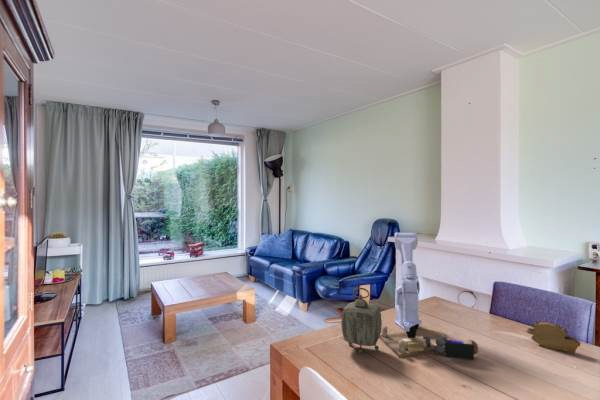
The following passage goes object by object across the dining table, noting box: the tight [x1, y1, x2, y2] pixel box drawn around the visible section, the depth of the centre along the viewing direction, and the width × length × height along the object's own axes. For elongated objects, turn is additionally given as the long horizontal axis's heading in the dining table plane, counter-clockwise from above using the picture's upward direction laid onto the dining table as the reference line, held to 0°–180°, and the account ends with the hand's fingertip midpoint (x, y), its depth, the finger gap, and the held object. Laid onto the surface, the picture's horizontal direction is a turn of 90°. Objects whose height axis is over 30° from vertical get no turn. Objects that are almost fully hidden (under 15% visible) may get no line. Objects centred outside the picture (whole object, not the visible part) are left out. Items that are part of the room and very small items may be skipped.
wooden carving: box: [525, 321, 581, 354], centre depth 123 cm, size 16×5×10 cm, turn 47°
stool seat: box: [379, 325, 437, 358], centre depth 129 cm, size 17×17×5 cm
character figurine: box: [435, 334, 479, 361], centre depth 119 cm, size 8×7×15 cm
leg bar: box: [402, 335, 432, 349], centre depth 125 cm, size 11×3×3 cm, turn 99°
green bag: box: [340, 287, 383, 354], centre depth 125 cm, size 14×9×25 cm, turn 65°
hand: (411, 342), depth 127 cm, fingers closed, pressing on leg bar
